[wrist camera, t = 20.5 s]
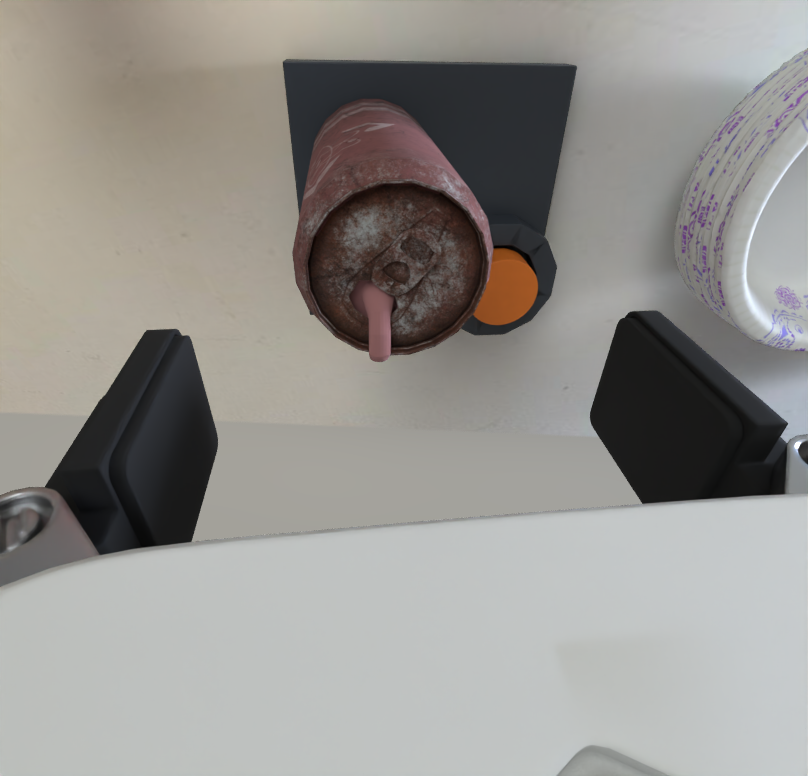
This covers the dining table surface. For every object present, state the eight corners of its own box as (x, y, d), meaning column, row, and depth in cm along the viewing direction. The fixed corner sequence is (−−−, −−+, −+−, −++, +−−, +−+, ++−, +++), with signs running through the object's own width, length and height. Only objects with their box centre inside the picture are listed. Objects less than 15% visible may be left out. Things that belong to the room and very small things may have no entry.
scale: (528, 310, 33) (542, 333, 31) (312, 317, 32) (310, 342, 29) (575, 63, 25) (600, 68, 22) (285, 59, 23) (279, 63, 21)
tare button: (522, 310, 30) (531, 324, 29) (458, 312, 30) (464, 326, 28) (534, 246, 28) (544, 258, 26) (464, 248, 27) (471, 260, 26)
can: (316, 229, 27) (301, 376, 16) (307, 95, 23) (279, 166, 12) (425, 228, 28) (484, 370, 17) (434, 98, 24) (517, 169, 13)
